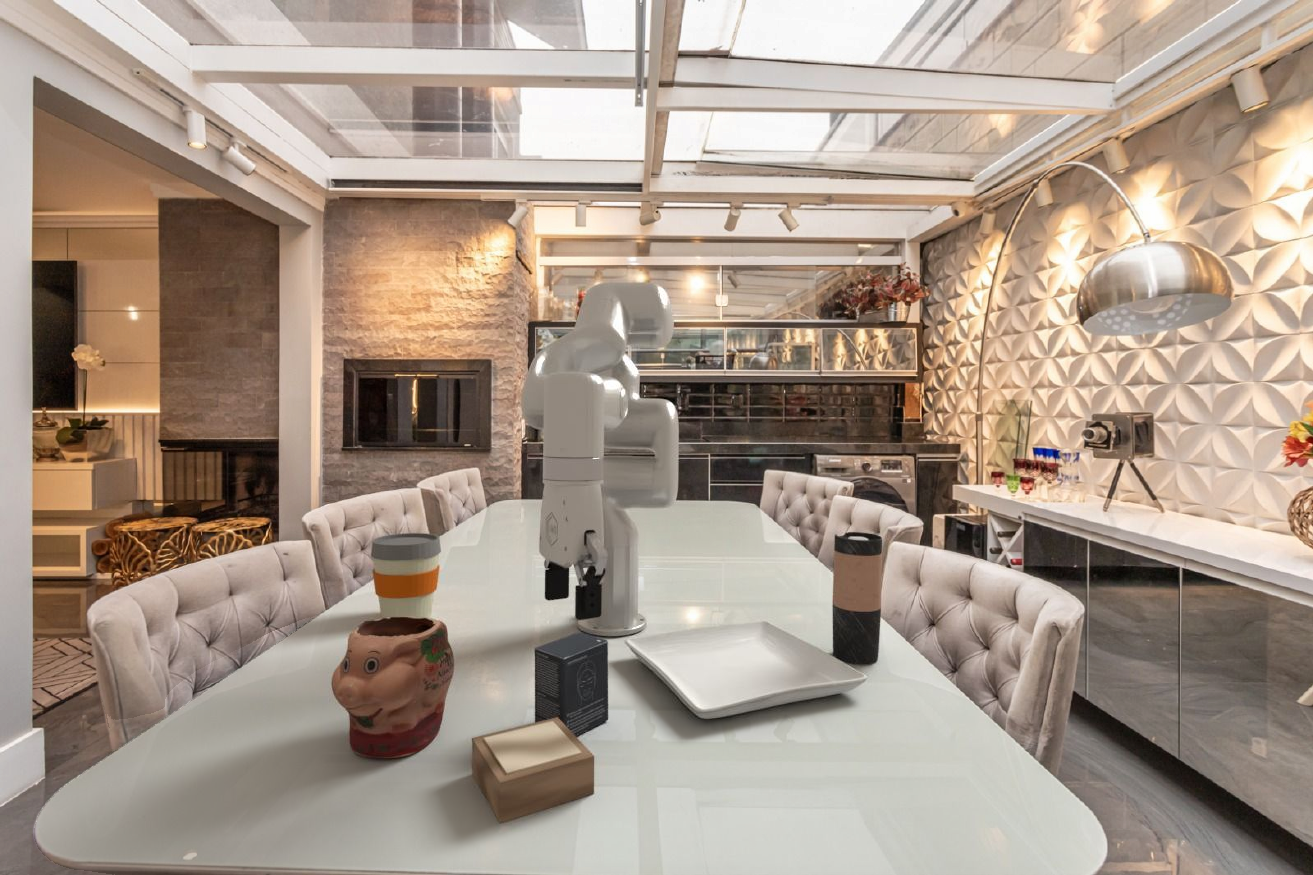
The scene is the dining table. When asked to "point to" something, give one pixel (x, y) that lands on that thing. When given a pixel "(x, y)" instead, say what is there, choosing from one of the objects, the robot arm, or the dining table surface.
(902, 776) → the dining table surface
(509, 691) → the dining table surface
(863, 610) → the travel mug
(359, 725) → the decorative planter
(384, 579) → the reusable coffee cup
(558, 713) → the box
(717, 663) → the square plate
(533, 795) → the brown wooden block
